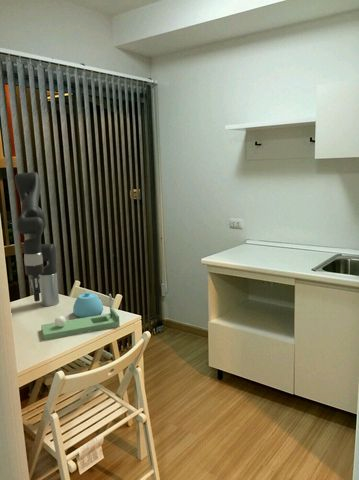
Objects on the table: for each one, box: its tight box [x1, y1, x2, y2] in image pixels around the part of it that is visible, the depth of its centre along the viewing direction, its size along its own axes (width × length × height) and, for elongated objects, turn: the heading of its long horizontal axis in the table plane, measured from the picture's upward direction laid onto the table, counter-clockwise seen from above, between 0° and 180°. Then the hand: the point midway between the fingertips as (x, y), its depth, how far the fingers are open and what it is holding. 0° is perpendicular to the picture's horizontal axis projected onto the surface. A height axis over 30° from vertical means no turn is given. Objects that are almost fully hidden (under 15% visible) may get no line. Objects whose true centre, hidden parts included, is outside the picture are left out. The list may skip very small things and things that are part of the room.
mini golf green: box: [40, 307, 120, 341], centre depth 191 cm, size 12×34×5 cm, turn 114°
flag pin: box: [108, 293, 113, 318], centre depth 194 cm, size 4×1×12 cm, turn 24°
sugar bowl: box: [72, 291, 104, 319], centre depth 208 cm, size 15×15×12 cm
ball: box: [54, 315, 67, 327], centre depth 187 cm, size 5×5×5 cm
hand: (37, 300), depth 181 cm, fingers closed
